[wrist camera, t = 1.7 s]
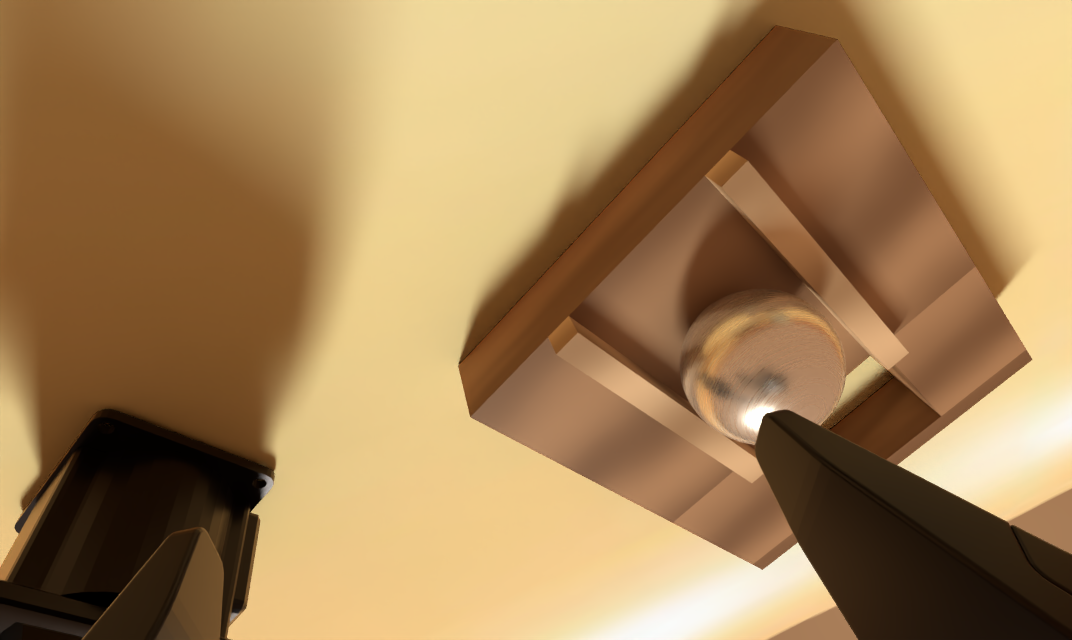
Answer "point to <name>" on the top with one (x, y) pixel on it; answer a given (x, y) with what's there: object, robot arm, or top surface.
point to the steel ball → (761, 362)
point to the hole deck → (735, 265)
